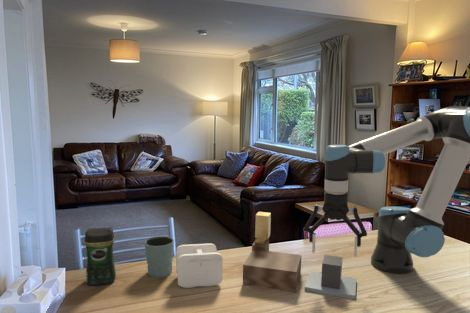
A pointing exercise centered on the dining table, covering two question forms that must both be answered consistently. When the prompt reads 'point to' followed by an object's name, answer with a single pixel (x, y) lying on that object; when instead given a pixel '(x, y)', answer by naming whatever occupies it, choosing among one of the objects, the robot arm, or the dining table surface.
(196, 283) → the white rounded double-panel block
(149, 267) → the teal cup
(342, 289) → the cover
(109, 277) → the coffee jar
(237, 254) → the dining table surface
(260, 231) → the pale yellow upright block
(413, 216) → the robot arm
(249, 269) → the walnut box
